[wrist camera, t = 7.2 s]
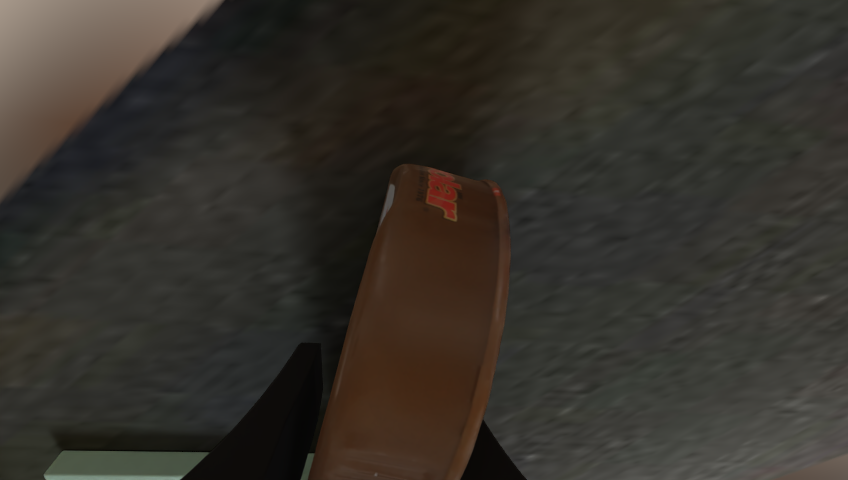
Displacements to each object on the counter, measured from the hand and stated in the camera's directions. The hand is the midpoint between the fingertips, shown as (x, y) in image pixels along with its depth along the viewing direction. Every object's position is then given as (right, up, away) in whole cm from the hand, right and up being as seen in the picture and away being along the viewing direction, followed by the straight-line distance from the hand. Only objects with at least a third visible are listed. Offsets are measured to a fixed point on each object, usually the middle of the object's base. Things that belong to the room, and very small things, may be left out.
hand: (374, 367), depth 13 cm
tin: (0, +1, +3) cm, 3 cm away
